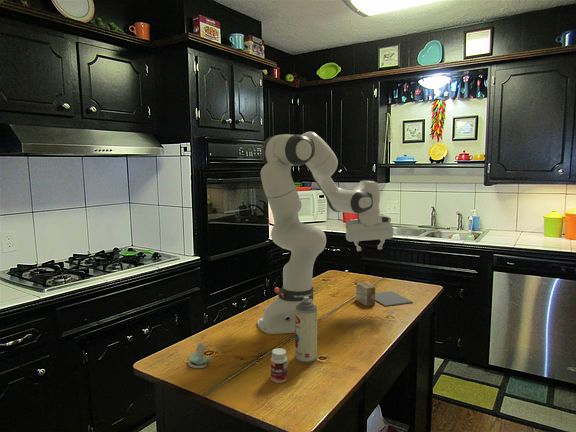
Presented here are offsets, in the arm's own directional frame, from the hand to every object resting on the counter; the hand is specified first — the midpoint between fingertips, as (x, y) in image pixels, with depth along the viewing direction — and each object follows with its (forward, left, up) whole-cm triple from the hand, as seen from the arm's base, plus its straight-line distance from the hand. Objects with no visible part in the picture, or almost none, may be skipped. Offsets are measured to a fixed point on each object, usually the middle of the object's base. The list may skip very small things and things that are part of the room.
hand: (369, 249), depth 178 cm
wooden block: (0, +2, -24) cm, 24 cm away
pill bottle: (-57, -47, -24) cm, 78 cm away
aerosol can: (-45, -38, -24) cm, 64 cm away
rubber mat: (+12, +2, -24) cm, 27 cm away
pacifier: (-77, -30, -24) cm, 86 cm away
